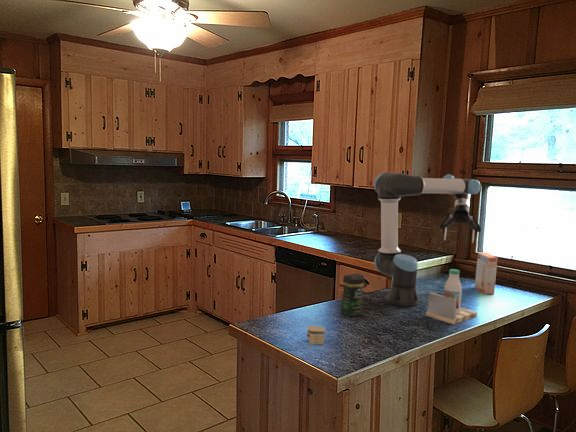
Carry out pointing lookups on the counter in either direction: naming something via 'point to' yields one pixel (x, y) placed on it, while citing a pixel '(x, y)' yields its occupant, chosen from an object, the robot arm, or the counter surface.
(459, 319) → the shelf board
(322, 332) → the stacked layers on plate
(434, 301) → the bookend
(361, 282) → the coffee jar
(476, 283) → the cracker box
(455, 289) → the milk bottle
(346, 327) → the counter surface
